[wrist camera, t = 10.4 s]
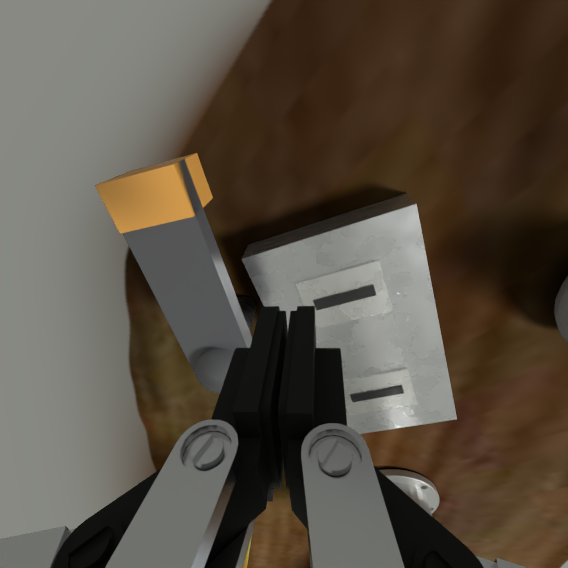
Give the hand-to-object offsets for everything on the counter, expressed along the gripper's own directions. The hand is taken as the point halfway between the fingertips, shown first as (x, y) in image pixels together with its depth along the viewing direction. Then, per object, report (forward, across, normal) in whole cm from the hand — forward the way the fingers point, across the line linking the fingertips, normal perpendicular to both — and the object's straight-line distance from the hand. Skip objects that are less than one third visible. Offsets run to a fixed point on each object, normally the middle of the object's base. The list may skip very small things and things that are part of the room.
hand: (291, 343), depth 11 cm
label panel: (+19, -4, +14) cm, 24 cm away
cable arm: (+14, +8, +5) cm, 17 cm away
